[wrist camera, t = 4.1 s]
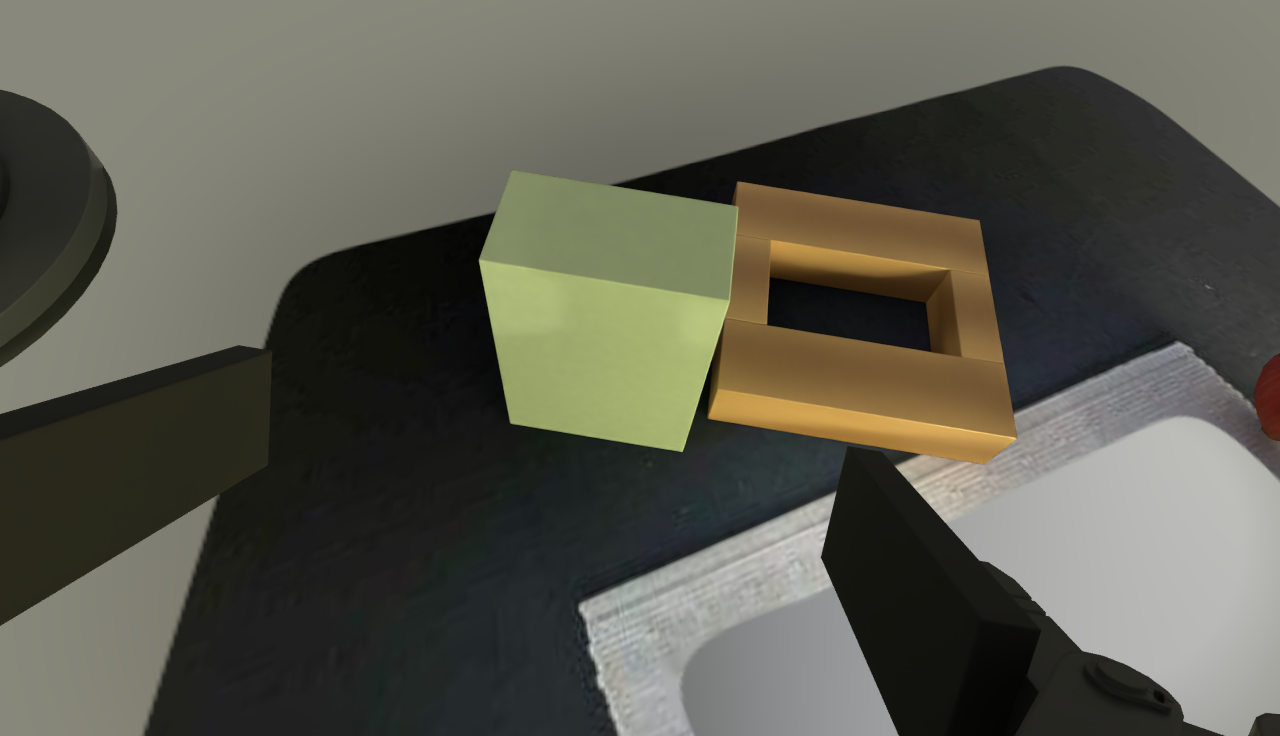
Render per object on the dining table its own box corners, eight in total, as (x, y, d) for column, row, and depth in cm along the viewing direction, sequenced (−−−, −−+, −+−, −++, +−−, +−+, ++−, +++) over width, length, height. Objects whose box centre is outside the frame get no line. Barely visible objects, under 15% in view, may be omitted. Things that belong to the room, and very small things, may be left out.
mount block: (984, 465, 33) (1018, 438, 31) (706, 418, 33) (717, 389, 31) (954, 255, 41) (979, 220, 38) (727, 218, 41) (737, 181, 38)
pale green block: (682, 452, 32) (730, 301, 22) (509, 423, 32) (477, 260, 22) (692, 374, 35) (739, 205, 25) (531, 347, 35) (511, 168, 25)
